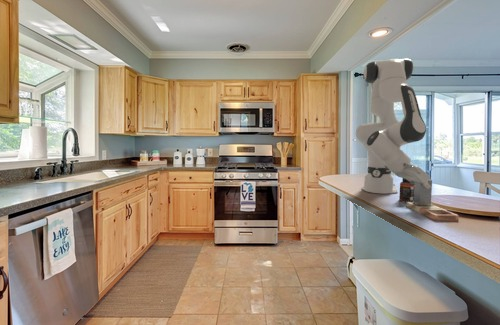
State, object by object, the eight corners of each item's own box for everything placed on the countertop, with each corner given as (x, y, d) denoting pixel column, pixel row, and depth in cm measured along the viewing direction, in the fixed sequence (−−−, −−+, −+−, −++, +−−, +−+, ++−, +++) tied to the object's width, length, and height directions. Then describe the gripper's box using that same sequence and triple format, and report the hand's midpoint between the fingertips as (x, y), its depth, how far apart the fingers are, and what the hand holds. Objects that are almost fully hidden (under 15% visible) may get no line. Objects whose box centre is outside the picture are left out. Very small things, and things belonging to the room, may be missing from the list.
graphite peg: (413, 207, 110) (414, 178, 109) (423, 207, 110) (425, 178, 109) (419, 210, 106) (420, 180, 104) (430, 210, 105) (432, 180, 104)
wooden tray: (406, 206, 112) (406, 202, 112) (425, 206, 112) (425, 202, 111) (435, 220, 93) (435, 215, 93) (458, 220, 93) (458, 215, 92)
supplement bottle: (416, 202, 118) (417, 179, 117) (402, 202, 119) (403, 179, 118) (410, 199, 124) (411, 177, 123) (397, 199, 125) (398, 177, 124)
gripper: (418, 159, 96) (444, 184, 96) (392, 155, 116) (413, 176, 116) (406, 171, 97) (431, 196, 97) (382, 165, 117) (403, 186, 117)
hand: (421, 185), depth 107 cm, fingers open, 8 cm apart
